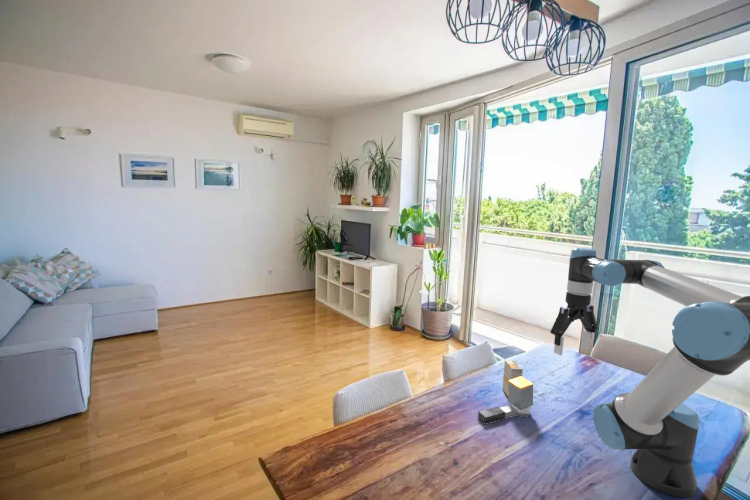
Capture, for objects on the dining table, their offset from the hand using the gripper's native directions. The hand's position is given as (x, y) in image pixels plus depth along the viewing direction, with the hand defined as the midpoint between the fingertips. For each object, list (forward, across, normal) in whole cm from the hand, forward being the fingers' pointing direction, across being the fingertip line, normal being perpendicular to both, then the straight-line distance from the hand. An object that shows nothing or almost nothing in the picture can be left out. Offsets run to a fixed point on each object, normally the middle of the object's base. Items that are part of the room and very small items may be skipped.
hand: (571, 351), depth 128 cm
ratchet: (+27, +18, -10) cm, 34 cm away
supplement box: (+27, +5, -21) cm, 35 cm away
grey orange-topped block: (+23, +11, -10) cm, 28 cm away
